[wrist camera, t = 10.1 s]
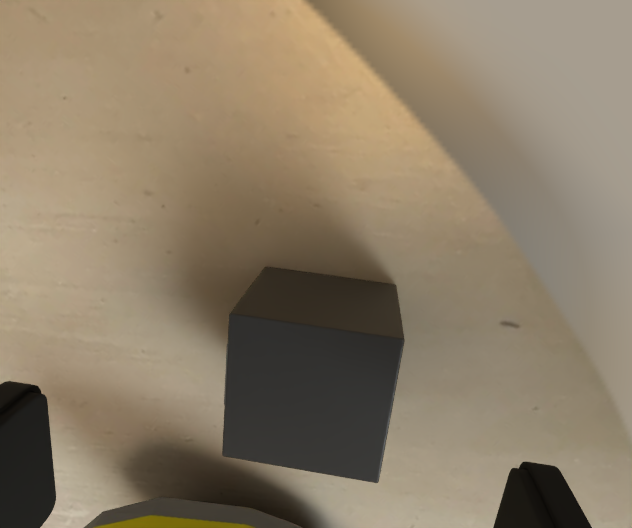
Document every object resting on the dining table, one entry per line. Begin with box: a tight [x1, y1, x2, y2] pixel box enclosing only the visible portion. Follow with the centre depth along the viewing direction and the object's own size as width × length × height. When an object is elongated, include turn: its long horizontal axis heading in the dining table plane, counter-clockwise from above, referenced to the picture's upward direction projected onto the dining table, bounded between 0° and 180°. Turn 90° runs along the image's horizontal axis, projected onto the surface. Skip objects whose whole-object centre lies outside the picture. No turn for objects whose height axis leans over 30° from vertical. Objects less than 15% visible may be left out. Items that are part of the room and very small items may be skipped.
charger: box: [222, 267, 404, 483], centre depth 14 cm, size 5×4×4 cm
